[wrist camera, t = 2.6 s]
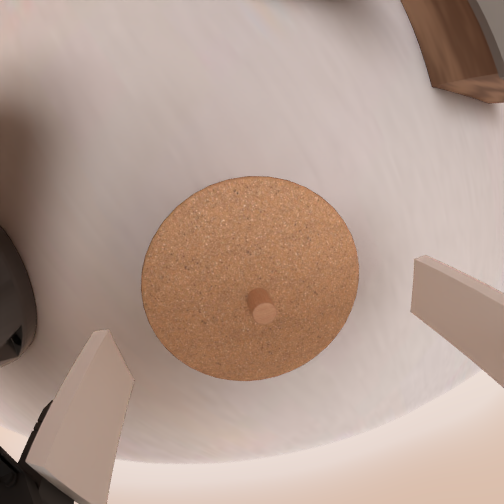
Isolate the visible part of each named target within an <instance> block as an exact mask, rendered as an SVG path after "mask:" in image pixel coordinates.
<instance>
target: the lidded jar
mask: <svg viewBox="0 0 504 504" xmlns="http://www.w3.org/2000/svg"><path fill="white" fill-rule="evenodd" d="M358 280H359V264H358V257H357V251H356V247H355V244H354V241H353V238H352V235H351V233H350V231H349V229H348V228H347V226H346V224H345V222H344V220H343V219H342V218H341V217H340V215H339V214H338V213H337V212H336V210H335V209H334V208H333V207H332V206H331V205H330V204H329V203H328V202H326V201H325V200H324V199H323V198H322V197H321V196H319V195H318V194H316V193H314V192H313V191H311V190H309V189H308V188H306V187H304V186H301V185H299V184H296V183H293V182H291V181H288V180H283V179H278V178H273V177H261V176H247V177H240V178H233V179H228V180H225V181H222V182H219V183H216V184H213V185H210V186H208V187H206V188H204V189H202V190H200V191H198V192H197V193H195V194H193V195H191V196H190V197H189V198H188V199H186V200H185V201H184V202H182V203H181V204H180V205H179V206H177V207H176V208H175V209H174V210H173V211H172V213H171V214H170V215H169V216H168V217H167V218H166V219H165V220H164V221H163V223H162V224H161V226H160V227H159V229H158V231H157V232H156V234H155V235H154V237H153V239H152V241H151V243H150V246H149V248H148V251H147V253H146V256H145V260H144V265H143V269H142V279H141V293H142V299H143V306H144V309H145V312H146V315H147V318H148V321H149V323H150V325H151V327H152V329H153V331H154V332H155V334H156V336H157V337H158V339H159V340H160V341H161V342H162V344H163V345H164V346H165V347H166V349H168V350H169V351H170V352H171V353H172V354H173V355H174V356H175V357H176V358H177V359H179V360H180V361H182V362H183V363H185V364H186V365H188V366H189V367H191V368H193V369H195V370H197V371H200V372H202V373H204V374H207V375H210V376H213V377H216V378H221V379H227V380H236V381H252V380H261V379H266V378H271V377H275V376H279V375H281V374H284V373H287V372H289V371H292V370H294V369H296V368H298V367H300V366H302V365H304V364H305V363H307V362H308V361H310V360H311V359H313V358H314V357H315V356H317V355H318V354H319V353H320V352H321V351H322V350H324V349H325V348H326V347H327V346H328V345H329V344H330V343H331V341H332V340H333V339H334V338H335V337H336V336H337V334H338V333H339V331H340V330H341V328H342V327H343V325H344V324H345V322H346V320H347V318H348V316H349V314H350V312H351V309H352V306H353V303H354V300H355V297H356V293H357V287H358Z"/></svg>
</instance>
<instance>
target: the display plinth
mask: <svg viewBox="0 0 504 504" xmlns="http://www.w3.org/2000/svg"><path fill="white" fill-rule="evenodd" d="M401 2H402V4H403V6H404V8H405V10H406V13H407V15H408V17H409V20H410V22H411V24H412V27H413V29H414V32H415V34H416V37H417V40H418V42H419V45H420V48H421V51H422V54H423V57H424V60H425V63H426V67H427V70H428V74H429V77H430V81H431V85H432V87H436V88H440V89H444V90H448V91H451V92H455V93H458V94H462V95H465V96H468V97H472V98H475V99H478V100H481V101H483V102H486V103H503V102H504V0H401Z"/></svg>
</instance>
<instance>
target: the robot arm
mask: <svg viewBox="0 0 504 504" xmlns="http://www.w3.org/2000/svg"><path fill="white" fill-rule="evenodd" d="M410 312H411V313H413V314H414V315H415V316H417V317H418V318H419V319H421V320H422V321H423V322H424V323H426V324H427V325H428V326H430V327H431V328H432V329H433V330H435V331H436V332H437V333H439V334H440V335H441V336H442V337H444V338H445V339H446V340H447V341H449V342H450V343H451V344H452V345H454V346H455V347H456V348H457V349H458V350H460V351H461V352H462V353H463V354H465V355H466V356H467V357H468V358H469V359H471V360H472V361H473V362H474V363H475V364H477V365H478V366H479V367H480V368H481V369H482V370H484V371H485V372H486V373H487V374H488V375H489V376H491V377H492V378H493V379H494V380H495V381H497V383H499V384H500V385H501V386H502V387H503V388H504V293H502V292H500V291H499V290H497V289H495V288H493V287H491V286H489V285H487V284H485V283H483V282H481V281H479V280H477V279H475V278H473V277H471V276H469V275H467V274H465V273H463V272H461V271H459V270H457V269H455V268H453V267H451V266H449V265H446V264H444V263H442V262H440V261H438V260H436V259H433V258H431V257H429V256H427V255H424V256H421V257H418V258H415V259H414V277H413V291H412V302H411V311H410ZM35 330H36V307H35V301H34V296H33V292H32V288H31V284H30V281H29V278H28V275H27V272H26V270H25V267H24V265H23V262H22V260H21V258H20V256H19V254H18V252H17V250H16V248H15V246H14V245H13V243H12V241H11V240H10V238H9V237H8V235H7V234H6V233H5V231H4V230H3V229H2V228H1V227H0V368H1V367H3V366H5V365H7V364H9V363H11V362H13V361H15V360H16V359H18V358H19V357H20V356H21V355H22V354H23V353H24V351H25V350H26V349H27V348H28V346H29V345H30V344H31V342H32V340H33V338H34V335H35ZM134 381H135V380H134V378H133V377H132V375H131V373H130V371H129V369H128V367H127V365H126V363H125V362H124V360H123V358H122V356H121V354H120V352H119V350H118V347H117V345H116V343H115V341H114V339H113V337H112V335H111V332H110V330H109V329H106V330H99V331H94V332H93V333H92V335H91V336H90V338H89V340H88V341H87V343H86V344H85V346H84V348H83V349H82V351H81V353H80V354H79V356H78V358H77V359H76V361H75V363H74V364H73V366H72V368H71V369H70V371H69V373H68V375H67V376H66V378H65V380H64V382H63V384H62V385H61V387H60V389H59V391H58V393H57V395H56V396H55V398H54V400H52V401H51V402H50V403H49V404H48V405H47V406H46V407H45V408H44V409H43V411H42V413H41V415H40V417H39V419H38V423H36V425H35V427H34V431H32V433H31V435H30V437H29V439H28V441H27V444H26V446H25V448H24V450H23V453H22V455H21V458H20V460H19V462H18V463H17V462H16V461H15V460H14V459H13V458H11V456H9V454H7V452H6V451H5V450H4V449H3V448H2V447H1V446H0V504H74V501H75V502H77V503H79V504H107V499H108V493H109V487H110V482H111V476H112V471H113V466H114V461H115V456H116V452H117V447H118V443H119V438H120V434H121V430H122V426H123V422H124V418H125V414H126V410H127V406H128V403H129V399H130V395H131V392H132V388H133V385H134Z"/></svg>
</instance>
